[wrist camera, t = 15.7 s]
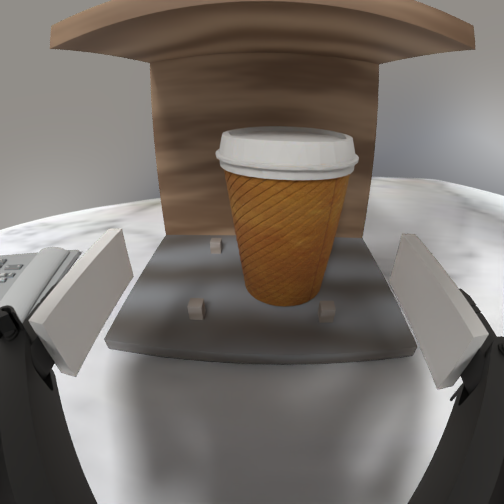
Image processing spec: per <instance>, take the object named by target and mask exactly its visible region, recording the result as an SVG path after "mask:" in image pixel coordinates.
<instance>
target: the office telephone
mask: <svg viewBox="0 0 504 504" xmlns="http://www.w3.org/2000/svg"><path fill="white" fill-rule="evenodd" d="M79 256H80V252H79V250H67V251H66V250H65V249H63V248H59V247H48V248H44V249H42V250H41V251H40V252H39V253H27V254H15V255H2V256H0V307H2V306H6V305H9V306H12V307H13V308H14V310H15V311H16V313H17V315H18V317H19V319H20V320H21V322H22V323H23V322H24V321H25V319H26V318H27V317H28V315H29V314H30V313H31V311H32V310H33V309H34V308H35V306H36V305H37V304H38V303H40V300H41V299H42V298H43V297H44V296H45V294H46V293H47V292H48V291H49V289H50V288H51V287H52V286H53V285H55V284H56V283H58V282H59V281H60V280H62V278H63V277H64V276H65V275H66V274H67V272H68V271H69V269H70V268H71V266H72V265H73V264H74V262H75V261H76V260H77V258H78V257H79Z"/></svg>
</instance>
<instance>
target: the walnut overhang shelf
mask: <svg viewBox="0 0 504 504" xmlns="http://www.w3.org/2000/svg"><path fill="white" fill-rule="evenodd" d="M50 49H62V50H73V51H83V52H91V53H98V54H105V55H112V56H117V57H124V58H128V59H133V60H139V61H143V62H148V63H150V78H151V101H152V117H153V130H154V142H155V153H156V163H157V172H158V181H159V189H160V196H161V204H162V211H163V218H164V225H165V231H166V236H165V237H164V239H163V240H162V242H161V243H160V245H159V247H158V248H157V250H156V251H155V253H154V254H153V256H152V258H151V259H150V261H149V262H148V264H147V266H146V267H145V269H144V271H143V272H142V274H141V275H140V277H139V279H138V280H137V282H136V284H135V285H134V287H133V289H132V290H131V292H130V294H129V296H128V297H127V299H126V301H125V303H124V304H123V306H122V308H121V310H120V311H119V313H118V315H117V317H116V318H115V320H114V322H113V324H112V326H111V328H110V329H109V331H108V333H107V335H106V337H105V339H104V340H105V342H106V344H107V346H108V348H109V349H115V350H120V351H126V352H133V353H139V354H146V355H154V356H161V357H170V358H179V359H189V360H200V361H213V362H228V363H251V364H320V363H342V362H357V361H369V360H380V359H390V358H399V357H407V356H413V354H414V352H415V350H416V348H417V345H416V342H415V340H414V338H413V336H412V333H411V331H410V329H409V327H408V325H407V323H406V320H405V318H404V316H403V314H402V312H401V310H400V308H399V306H398V304H397V302H396V300H395V298H394V296H393V294H392V292H391V290H390V288H389V286H388V284H387V282H386V280H385V278H384V277H383V275H382V273H381V271H380V269H379V267H378V265H377V264H376V262H375V260H374V258H373V256H372V255H371V253H370V251H369V249H368V247H367V246H366V244H365V242H364V241H363V239H362V236H363V230H364V224H365V219H366V212H367V206H368V199H369V192H370V185H371V177H372V169H373V160H374V150H375V139H376V127H377V126H376V125H377V111H378V110H377V109H378V86H379V85H378V84H379V64H382V63H387V62H391V61H396V60H401V59H406V58H412V57H417V56H423V55H430V54H437V53H444V52H452V51H463V50H475V37H474V27H473V25H471V24H469V23H467V22H464V21H463V20H460V19H458V18H456V17H454V16H452V15H450V14H447V13H445V12H443V11H441V10H438V9H436V8H433V7H430V6H428V5H425V4H423V3H420V2H417V1H414V0H111V1H109V2H105V3H103V4H101V5H97V6H95V7H92V8H90V9H87V10H85V11H82V12H80V13H78V14H75V15H73V16H71V17H69V18H67V19H65V20H63V21H60V22H58V23H56V24H54V25H52V26H51V38H50ZM264 126H288V127H305V128H315V129H323V130H330V131H335V132H339V133H343V134H347V135H349V136H351V137H352V138H353V143H354V149H355V154H356V155H357V156H358V157H359V160H358V163H357V164H355V166H354V171H353V172H352V173H351V174H350V177H349V181H348V186H347V190H346V195H345V199H344V203H343V207H342V211H341V215H340V219H339V223H338V227H337V230H336V235H335V238H334V242H333V246H332V250H331V253H330V256H329V260H328V263H327V267H326V270H325V273H324V277H323V280H322V284H321V287H320V291H319V292H318V294H317V295H316V296H315V297H314V298H313V299H311V300H309V301H308V302H306V303H303V304H300V305H295V306H285V307H284V306H274V305H269V304H266V303H263V302H261V301H259V300H257V299H255V298H254V297H253V296H252V295H251V294H250V293H249V292H248V291H247V289H246V286H245V281H244V275H243V270H242V265H241V261H240V255H239V249H238V243H237V241H236V234H235V228H234V223H233V217H232V213H231V212H232V211H231V207H230V201H229V196H228V190H227V185H226V180H225V173H224V169H223V168H222V167H221V166H220V160H219V159H217V157H216V151H217V150H218V149H220V143H221V137H222V133H223V132H226V131H229V130H234V129H240V128H248V127H264Z"/></svg>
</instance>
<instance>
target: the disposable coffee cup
mask: <svg viewBox="0 0 504 504" xmlns="http://www.w3.org/2000/svg"><path fill="white" fill-rule="evenodd" d="M216 157H217V159H219V160H220V166H221V167H222V168H223V169H224V173H225V180H226V185H227V190H228V196H229V201H230V207H231V211H232V212H231V213H232V217H233V223H234V228H235V234H236V241H237V243H238V249H239V255H240V261H241V265H242V270H243V275H244V281H245V286H246V289H247V291H248V292H249V293H250V294H251V295H252V296H253V297H254V298H255V299H257V300H259V301H261V302H263V303H266V304H269V305H274V306H284V307H285V306H295V305H300V304H303V303H306V302H308V301H309V300H311V299H313V298H314V297H315V296H316V295H317V294H318V292H319V291H320V287H321V284H322V280H323V277H324V273H325V270H326V267H327V263H328V260H329V256H330V253H331V250H332V246H333V242H334V238H335V235H336V230H337V227H338V223H339V219H340V215H341V211H342V207H343V203H344V199H345V195H346V190H347V186H348V181H349V177H350V174H351V173H352V172H353V171H354V166H355V164H357V163H358V160H359V157H358V156H357V155H356V154H355V149H354V143H353V138H352V137H351V136H349V135H347V134H343V133H339V132H335V131H330V130H323V129H315V128H305V127H288V126H264V127H248V128H240V129H234V130H229V131H226V132H223V133H222V137H221V143H220V149H218V150H217V151H216Z"/></svg>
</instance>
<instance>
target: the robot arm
mask: <svg viewBox="0 0 504 504" xmlns="http://www.w3.org/2000/svg"><path fill="white" fill-rule="evenodd" d="M133 277H134V276H133V272H132V268H131V264H130V261H129V257H128V253H127V249H126V244H125V240H124V236H123V231H122V229H108V230H107V231H106V232H105V233H104V234H103V235H102V236H101V237H100V238H99V239H98V240H97V241H96V242H95V243H94V244H93V245H92V246H91V248H90V249H89V250H88V251H87V252H86V253H85V254H84V255H83V256H82V257H81V258H80V259H79V260H78V261H77V263H76V264H75V265H74V266H73V267H72V268H71V269H70V270H69V272H68V273H67V274H66V275H65V276H64V277H63V278H62V280H60V281H59V282H58V283H56V284H55V285H53V286H52V287H51V288H50V289H49V291H48V292H47V293H46V294H45V296H44V297H43V298H42V299H41V300H40V303H38V304H37V305H36V306H35V308H34V309H33V310H32V311H31V313H30V314H29V315H28V317H27V318H26V319H25V321H24V322H23V323H22V322H21V320H20V319H19V317H18V315H17V313H16V311H15V310H14V308H13V307H12V306H9V305H6V306H2V307H0V504H97V502H96V500H95V498H94V495H93V493H92V491H91V489H90V487H89V484H88V482H87V480H86V477H85V475H84V473H83V470H82V468H81V465H80V462H79V460H78V457H77V454H76V451H75V449H74V446H73V443H72V440H71V436H70V433H69V430H68V427H67V423H66V420H65V416H64V412H63V408H62V405H61V400H60V396H59V392H58V387H57V382H56V377H55V374H54V372H53V370H52V367H53V365H54V363H55V364H56V366H57V367H58V368H59V370H60V371H61V373H64V374H67V375H70V376H74V377H76V376H77V374H78V372H79V370H80V368H81V366H82V364H83V362H84V360H85V359H86V357H87V355H88V353H89V351H90V349H91V347H92V346H93V344H94V342H95V340H96V338H97V337H98V335H99V333H100V331H101V329H102V328H103V326H104V324H105V322H106V321H107V319H108V317H109V316H110V314H111V312H112V311H113V309H114V307H115V306H116V304H117V302H118V301H119V299H120V297H121V296H122V294H123V292H124V291H125V289H126V288H127V286H128V284H129V283H130V281H131V280H132V278H133ZM389 283H390V285H391V287H392V289H393V291H394V293H395V295H396V297H397V299H398V301H399V303H400V305H401V307H402V309H403V311H404V313H405V315H406V317H407V319H408V321H409V324H410V326H411V328H412V330H413V332H414V334H415V337H416V339H417V341H418V343H419V346H420V348H421V350H422V353H423V355H424V357H425V360H426V362H427V365H428V367H429V370H430V372H431V375H432V377H433V380H434V382H435V385H436V388H437V390H438V389H443V388H447V387H451V386H453V385H454V384H455V382H456V381H457V380H458V378H459V377H460V376H461V378H462V380H463V383H462V385H461V386H460V387H459V388H458V390H457V391H456V392H455V393H454V394H453V396H452V397H451V399H450V401H452V400H453V399H454V398H455V397H456V396H457V397H456V400H455V403H454V406H453V409H452V412H451V414H450V417H449V420H448V423H447V425H446V428H445V430H444V433H443V435H442V438H441V440H440V442H439V445H438V447H437V449H436V451H435V453H434V456H433V458H432V460H431V462H430V464H429V466H428V468H427V470H426V472H425V474H424V476H423V478H422V480H421V481H420V483H419V485H418V487H417V489H416V490H415V492H414V494H413V495H412V497H411V499H410V500H409V502H408V504H504V337H502V336H501V337H497V336H496V335H495V333H494V331H493V330H492V328H491V327H490V325H489V323H488V322H487V320H486V319H485V317H484V316H483V314H482V313H480V312H481V311H480V310H479V308H478V307H477V306H476V304H475V303H474V301H473V300H472V298H471V297H470V296H469V295H468V294H467V293H465V292H464V291H463V290H462V289H458V287H457V286H456V284H455V283H454V282H453V280H452V279H451V278H450V276H449V275H448V274H447V272H446V271H445V270H444V269H443V267H442V266H441V265H440V263H439V262H438V261H437V260H436V258H435V257H434V256H433V255H432V254H431V252H430V251H429V250H428V249H427V248H426V246H425V245H424V244H423V243H422V242H421V240H420V239H419V238H418V237H417V236H416V235H415V234H402V235H401V240H400V244H399V248H398V251H397V255H396V259H395V263H394V266H393V270H392V273H391V277H390V280H389Z"/></svg>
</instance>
